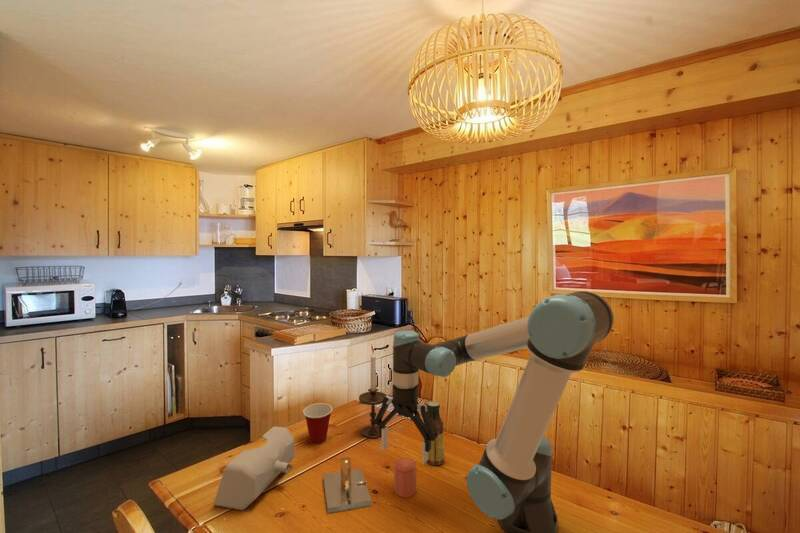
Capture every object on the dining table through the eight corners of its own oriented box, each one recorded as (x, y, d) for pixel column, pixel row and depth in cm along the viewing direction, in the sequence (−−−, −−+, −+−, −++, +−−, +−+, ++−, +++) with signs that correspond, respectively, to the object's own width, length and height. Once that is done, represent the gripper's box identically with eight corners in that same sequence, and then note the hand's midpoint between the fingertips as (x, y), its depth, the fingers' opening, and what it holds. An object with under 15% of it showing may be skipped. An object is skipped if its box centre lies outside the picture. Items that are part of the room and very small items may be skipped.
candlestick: (357, 439, 142) (357, 347, 140) (361, 426, 152) (361, 340, 151) (385, 440, 141) (386, 347, 140) (387, 427, 152) (388, 341, 151)
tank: (264, 517, 100) (263, 471, 100) (212, 507, 104) (211, 463, 104) (307, 465, 125) (307, 428, 124) (264, 459, 128) (263, 423, 128)
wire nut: (418, 494, 110) (418, 467, 109) (397, 498, 108) (397, 471, 108) (411, 482, 116) (412, 456, 115) (392, 485, 114) (392, 459, 114)
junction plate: (372, 506, 104) (372, 472, 104) (327, 514, 101) (327, 480, 101) (362, 472, 120) (362, 443, 120) (323, 479, 117) (323, 449, 117)
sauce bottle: (444, 456, 130) (444, 400, 129) (444, 467, 124) (445, 407, 123) (425, 455, 130) (425, 399, 130) (424, 466, 124) (425, 406, 124)
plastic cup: (298, 446, 136) (298, 414, 136) (309, 432, 147) (309, 402, 147) (327, 448, 135) (327, 415, 134) (336, 434, 146) (336, 403, 145)
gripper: (450, 388, 108) (448, 460, 109) (376, 373, 120) (375, 438, 121) (439, 397, 101) (438, 474, 102) (363, 380, 113) (362, 448, 114)
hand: (404, 454), depth 112 cm, fingers open, 13 cm apart
